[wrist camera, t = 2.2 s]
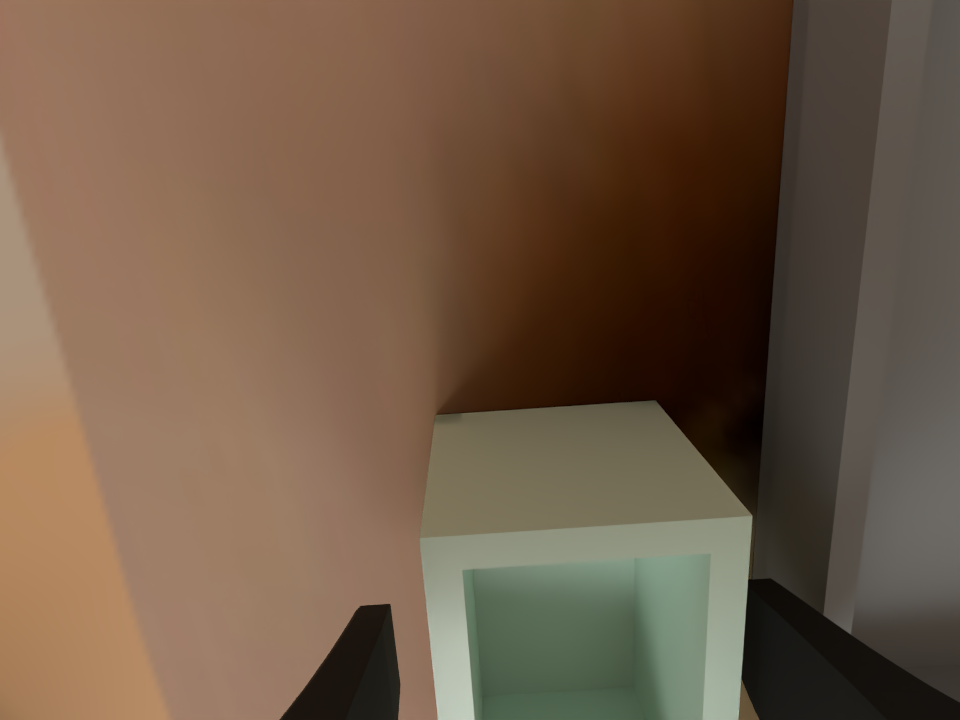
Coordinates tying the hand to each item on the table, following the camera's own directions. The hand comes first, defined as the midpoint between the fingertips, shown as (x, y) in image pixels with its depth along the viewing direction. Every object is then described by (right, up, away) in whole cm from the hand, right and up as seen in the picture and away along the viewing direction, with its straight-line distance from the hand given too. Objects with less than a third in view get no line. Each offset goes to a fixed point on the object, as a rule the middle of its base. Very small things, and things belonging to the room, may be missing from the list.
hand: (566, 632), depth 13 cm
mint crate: (0, +1, +3) cm, 3 cm away
